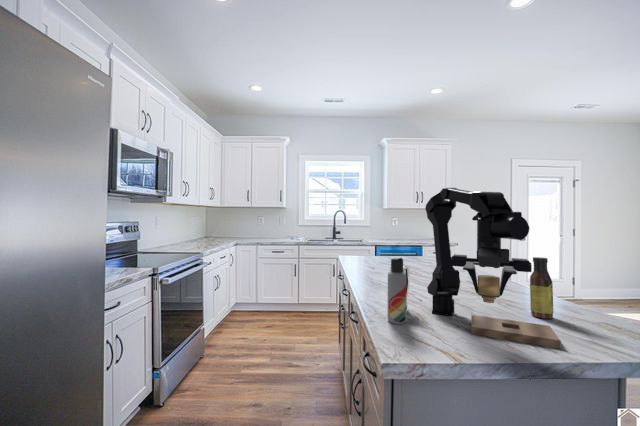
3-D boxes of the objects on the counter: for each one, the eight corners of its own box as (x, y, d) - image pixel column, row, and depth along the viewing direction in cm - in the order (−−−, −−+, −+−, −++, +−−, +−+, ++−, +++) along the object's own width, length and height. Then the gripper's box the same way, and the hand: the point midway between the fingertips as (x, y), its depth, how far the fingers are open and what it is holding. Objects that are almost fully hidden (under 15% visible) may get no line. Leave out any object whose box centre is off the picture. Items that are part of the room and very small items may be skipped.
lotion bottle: (403, 325, 89) (403, 259, 90) (384, 322, 92) (385, 257, 93) (408, 320, 94) (408, 257, 95) (390, 317, 97) (391, 256, 98)
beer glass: (411, 308, 107) (412, 267, 107) (406, 313, 101) (406, 269, 101) (393, 305, 110) (393, 265, 111) (386, 310, 104) (386, 267, 105)
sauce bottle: (557, 320, 96) (557, 259, 96) (536, 319, 97) (535, 258, 98) (546, 314, 102) (546, 256, 103) (526, 312, 103) (526, 256, 104)
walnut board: (471, 333, 83) (471, 326, 84) (471, 321, 94) (471, 314, 94) (560, 348, 74) (560, 340, 74) (549, 332, 85) (549, 325, 85)
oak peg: (477, 302, 80) (477, 277, 80) (477, 298, 84) (477, 274, 85) (500, 305, 77) (500, 279, 77) (499, 300, 82) (499, 276, 82)
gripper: (449, 237, 79) (448, 296, 78) (535, 240, 70) (535, 307, 69) (452, 235, 88) (452, 287, 88) (528, 238, 79) (528, 296, 79)
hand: (488, 294), depth 81 cm, fingers closed on oak peg, 5 cm apart
